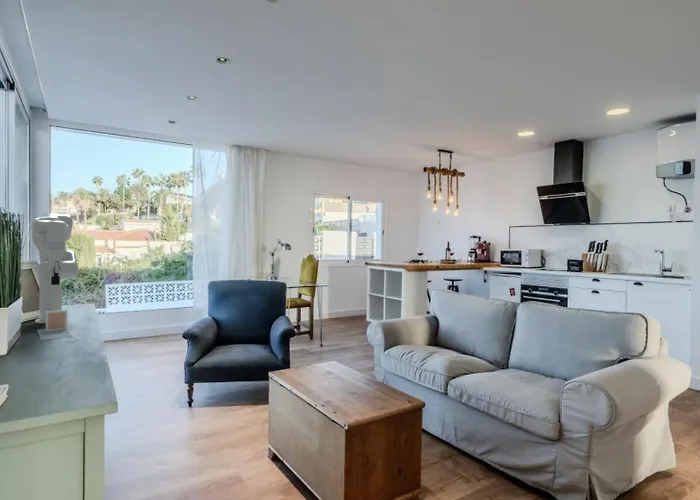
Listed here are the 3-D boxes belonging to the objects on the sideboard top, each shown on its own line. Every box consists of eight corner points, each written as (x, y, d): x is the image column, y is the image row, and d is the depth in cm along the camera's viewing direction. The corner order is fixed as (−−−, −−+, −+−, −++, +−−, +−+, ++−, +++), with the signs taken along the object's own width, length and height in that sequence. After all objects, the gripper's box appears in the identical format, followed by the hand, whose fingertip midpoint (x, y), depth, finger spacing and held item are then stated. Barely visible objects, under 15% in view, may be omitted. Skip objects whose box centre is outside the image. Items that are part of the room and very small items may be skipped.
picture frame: (45, 330, 191) (45, 311, 191) (66, 328, 196) (66, 309, 196) (46, 331, 190) (46, 311, 189) (67, 329, 195) (67, 310, 195)
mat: (36, 330, 192) (36, 329, 192) (65, 327, 199) (65, 326, 199) (41, 340, 174) (41, 339, 174) (72, 337, 181) (72, 336, 181)
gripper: (44, 246, 201) (44, 283, 201) (47, 246, 189) (47, 286, 190) (63, 246, 206) (62, 283, 206) (67, 247, 194) (66, 285, 195)
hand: (55, 284), depth 198 cm, fingers closed
